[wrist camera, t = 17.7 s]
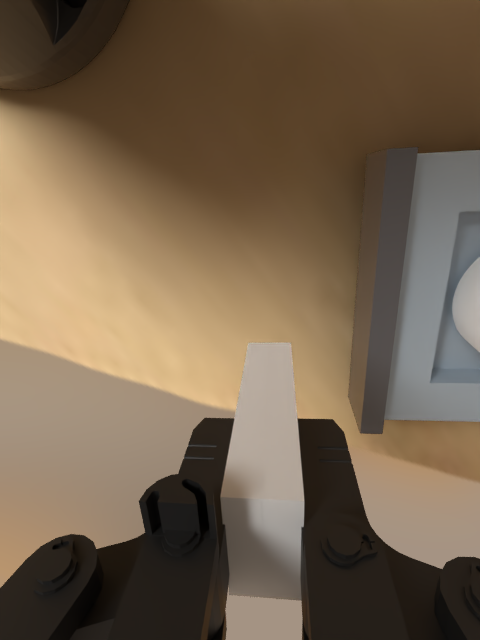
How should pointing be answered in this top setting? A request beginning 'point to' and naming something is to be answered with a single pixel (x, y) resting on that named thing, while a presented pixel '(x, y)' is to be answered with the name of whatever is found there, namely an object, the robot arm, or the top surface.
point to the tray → (415, 289)
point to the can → (468, 305)
